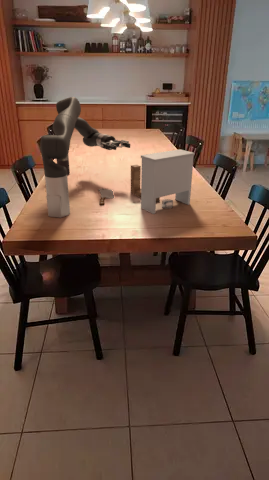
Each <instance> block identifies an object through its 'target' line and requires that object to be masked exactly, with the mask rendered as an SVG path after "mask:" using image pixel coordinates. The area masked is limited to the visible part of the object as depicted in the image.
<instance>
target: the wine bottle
mask: <svg viewBox="0 0 269 480" xmlns="http://www.w3.org/2000/svg"><path fill="white" fill-rule="evenodd" d="M56 163H57V164H59V165H61V166H64V167H65V168H66V169H67V176H68V175H70V174H71V173H70V172H71V170H70V159H69V155H68V156H67V157H66V158H64V159H56Z"/></svg>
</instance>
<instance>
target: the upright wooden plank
mask: <svg viewBox="0 0 269 480" xmlns="http://www.w3.org/2000/svg"><path fill="white" fill-rule="evenodd" d="M141 175H142V165H139V164H132V165H130V193H131V194H133V195H134V196H137V197H139V198H141ZM160 201H161V197H159V198H156V203H157V202H160Z"/></svg>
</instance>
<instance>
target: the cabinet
mask: <svg viewBox="0 0 269 480" xmlns="http://www.w3.org/2000/svg"><path fill="white" fill-rule="evenodd" d="M195 154H196V153H195V152H194V151H188V150H184V149H175V150H174V149H173V150H168V151H159V152H154V153H153V152H152V153H148V154H141V155H140V159H141V174H140V189H141V197H140V209H142V210H144V211H147V212H149V213H150V214H152V215H154V214H156V210H157V208H156V207H157V206H156V205H157V202H156V198H159V197H160V198H163V197H167V196H170V195H171V196H172V195H174V198H175V199H174V200H176V201H178V202H180V203H183V204H185V205H187V206H189V205H191V195H192V183H193V182H192V179H193V168H194V167H193V166H194V158H195V157H194V156H195Z"/></svg>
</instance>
